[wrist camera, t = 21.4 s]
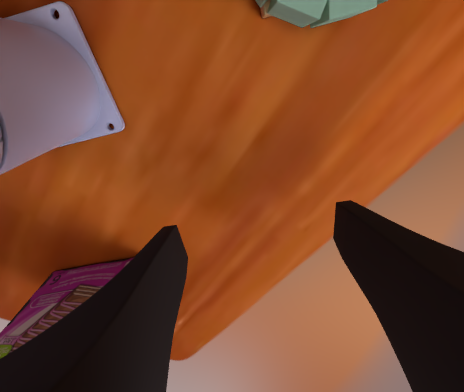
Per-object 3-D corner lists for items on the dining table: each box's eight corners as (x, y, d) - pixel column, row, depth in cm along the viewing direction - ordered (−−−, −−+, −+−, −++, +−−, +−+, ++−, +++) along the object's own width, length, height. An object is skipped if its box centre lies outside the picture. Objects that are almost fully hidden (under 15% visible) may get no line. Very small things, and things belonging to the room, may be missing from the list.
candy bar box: (143, 252, 25) (32, 506, 10) (160, 282, 27) (88, 520, 13) (49, 268, 26) (-171, 524, 11) (73, 296, 28) (-82, 534, 14)
